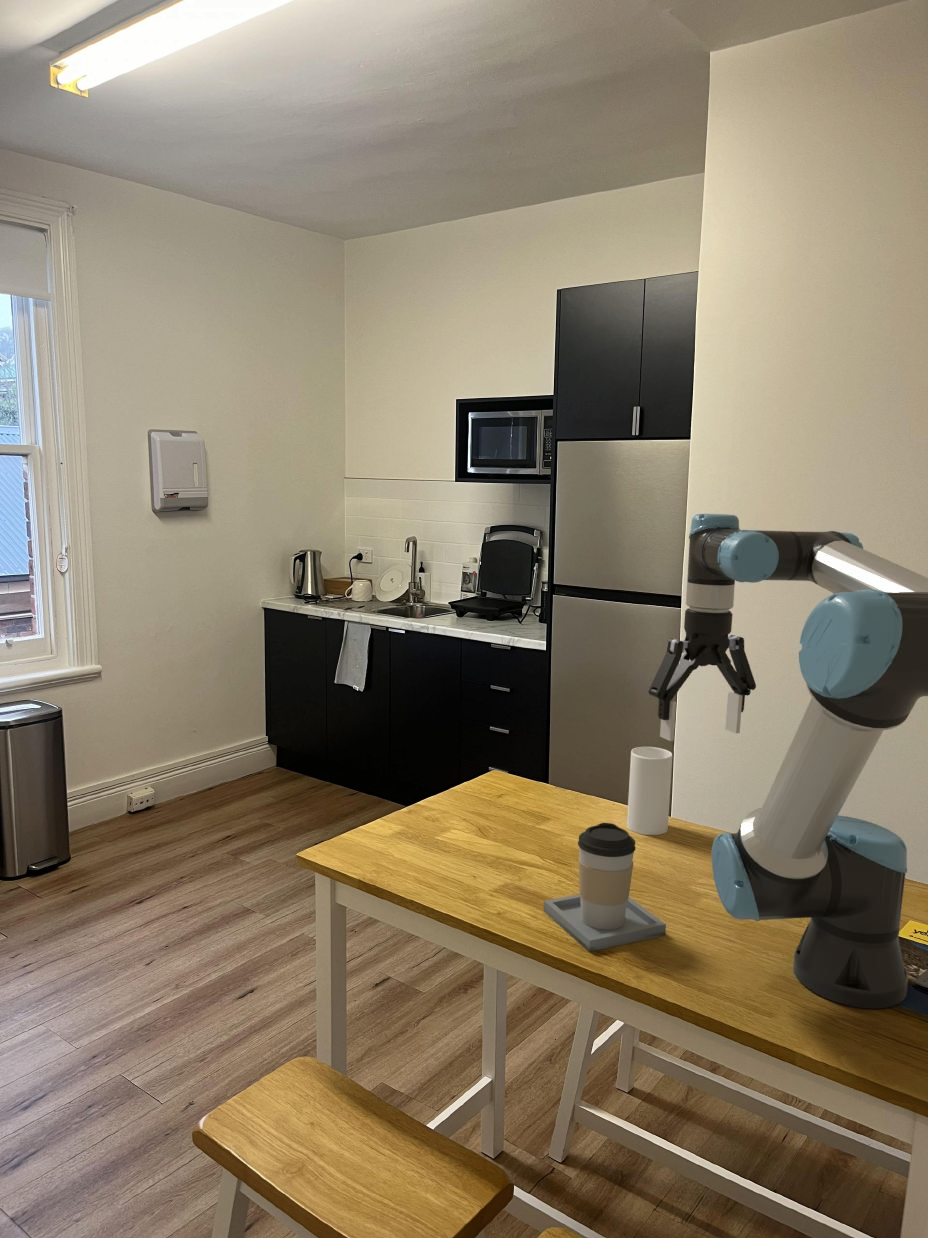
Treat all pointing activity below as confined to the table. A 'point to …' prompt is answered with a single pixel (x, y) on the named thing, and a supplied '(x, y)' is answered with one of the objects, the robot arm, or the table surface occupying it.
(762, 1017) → the table surface
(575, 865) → the table surface
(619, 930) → the tray
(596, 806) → the table surface
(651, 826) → the cup
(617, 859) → the coffee cup
